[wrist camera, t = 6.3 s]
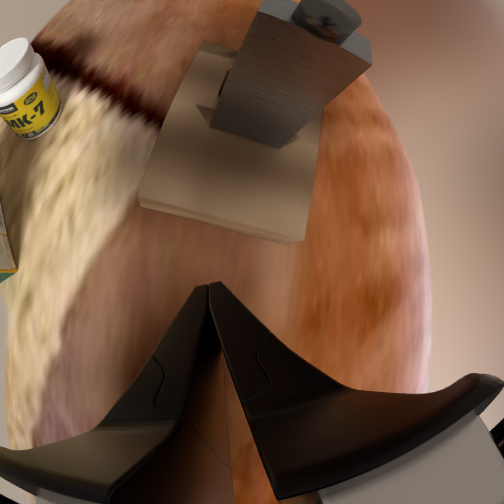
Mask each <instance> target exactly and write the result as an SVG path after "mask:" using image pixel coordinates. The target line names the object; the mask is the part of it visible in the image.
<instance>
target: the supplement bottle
mask: <svg viewBox="0 0 504 504" xmlns="http://www.w3.org/2000/svg"><path fill="white" fill-rule="evenodd" d="M61 107H62V104H61V100H60V97H59V95H58V93H57V91H56V88H55V86H54V84H53V82H52V80H51V78H50V75H49V73H48V71H47V68H46V66H45V64H44V61H43V59H42V57H41V56H40V55H39V54H37V53H34V51H33V48H32V47H31V45H30V43H29V41H28V39H26V38H17V39H14V40H12V41H10V42H8V43H6V44H5V45H3V46H2V47H0V116H1V117H2V118H3V119H4V121H5V122H6V123H7V124H8V125H9V126H10V127H11V128H12V129H13V131H14V132H15V133H16V134H17V135H18V136H19V137H20V138H22V139H25V140H33V139H36V138H38V137H40V136H42V135H43V134H45V133H46V132H48V131H49V130H50V129H51V128H52V127H53V125H54V124H55V123H56V121H57V120H58V118H59V115H60V113H61Z"/></svg>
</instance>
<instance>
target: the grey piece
mask: <svg viewBox="0 0 504 504" xmlns="http://www.w3.org/2000/svg"><path fill="white" fill-rule="evenodd" d="M360 25H361V18H360V16H359V14H358V13H357V12H356V11H355V10H354V9H353V8H352V7H351V6H350V5H349V4H348V3H346V2H345V1H344V0H301V1H300V3H297V2H294V1H292V0H263V1H262V3H261V5H260V7H259V9H258V11H257V13H256V15H255V17H254V19H253V21H252V23H251V25H250V27H249V29H248V31H247V34H246V36H245V38H244V40H243V42H242V45H241V47H240V49H239V51H238V54H237V56H236V58H235V61H234V63H233V65H232V68H231V70H230V73H229V75H228V78H227V80H226V82H225V85H224V87H223V90H222V93H221V95H220V98H219V100H218V103H217V106H216V108H215V111H214V114H213V117H212V120H211V123H210V126H209V127H212V128H215V129H218V130H222V131H225V132H228V133H232V134H235V135H238V136H241V137H244V138H247V139H250V140H253V141H256V142H259V143H262V144H265V145H268V146H270V147H273V148H276V149H279V150H280V149H281V148H282V147H283V146H284V145H285V144H286V143H287V142H288V141H289V140H290V139H291V138H292V137H293V136H294V135H295V134H296V133H297V132H298V131H299V130H300V129H302V128H303V127H304V126H305V125H306V124H307V123H308V122H309V121H310V120H311V119H312V118H313V117H314V116H315V115H316V114H318V113H319V112H320V111H321V110H322V109H323V108H324V107H325V106H326V105H327V104H328V103H330V102H331V101H332V100H333V99H334V98H335V97H336V96H337V95H338V94H340V93H341V92H342V91H343V90H344V89H345V88H346V87H348V86H349V85H350V84H351V83H352V82H353V81H354V80H356V79H357V78H358V77H359V76H360V75H361V74H363V73H364V72H365V71H366V70H367V69H368V68H369V67H371V66H372V57H371V48H370V41H369V40H368V39H367V38H365V37H363V36H362V35H360V34H358V33H357V32H355V30H356V29H357V28H358V27H359V26H360Z"/></svg>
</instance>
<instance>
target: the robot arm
mask: <svg viewBox="0 0 504 504" xmlns="http://www.w3.org/2000/svg"><path fill="white" fill-rule="evenodd" d="M223 353H224V356H225V359H226V362H227V365H228V368H229V371H230V374H231V377H232V380H233V383H234V386H235V388H236V391H237V394H238V397H239V400H240V402H241V405H242V408H243V411H244V413H245V416H246V419H247V421H248V424H249V427H250V430H251V433H252V436H253V438H254V441H255V444H256V447H257V450H258V452H259V455H260V458H261V460H262V463H263V466H264V469H265V471H266V474H267V476H268V479H269V482H270V484H271V487H272V489H273V492H274V495H275V497H276V500H277V501H278V502H279V504H504V418H503V419H502V420H501V421H500V422H499V423H498V424H497V425H496V426H495V427H494V428H493V429H492V430H491V431H489V430H488V428H487V427H486V425H485V424H484V422H483V420H482V419H481V418H480V416H479V415H480V414H481V413H482V412H483V411H484V410H485V409H486V408H487V406H488V405H489V404H490V403H491V402H492V401H493V400H494V399H495V398H496V396H497V395H498V394H499V393H500V391H501V390H502V389H503V387H504V381H503V380H501V379H499V378H498V377H496V376H492V375H488V374H478V373H471V374H468V375H466V376H464V377H462V378H461V379H459V380H458V381H456V382H455V383H453V384H452V385H450V386H449V387H446V388H445V389H442V390H439V391H436V392H432V393H426V394H405V393H387V392H375V391H364V390H356V389H353V388H350V387H347V386H345V385H343V384H341V383H339V382H337V381H336V380H334V379H333V378H331V377H330V376H328V375H327V374H325V373H323V372H322V371H320V370H319V369H318V368H316V367H315V366H313V365H312V364H310V363H309V362H307V361H306V360H304V359H303V358H301V357H300V356H299V355H297V354H296V353H295V352H293V351H292V350H291V349H289V348H288V347H287V346H286V345H285V344H284V343H283V342H281V341H280V340H279V339H278V338H277V337H276V336H275V335H274V334H273V333H271V331H270V330H269V329H268V328H267V327H266V326H265V325H264V324H263V323H262V322H261V321H260V320H259V319H258V318H257V317H256V316H255V315H254V314H253V313H252V312H251V311H250V310H249V309H248V308H247V307H246V306H245V305H244V304H243V303H242V302H241V301H240V300H239V299H238V298H237V297H236V296H235V295H234V294H233V293H232V292H231V291H230V290H229V289H228V288H227V287H226V286H225V285H224V284H223V283H222V282H221V281H218V282H214V283H210V284H209V286H208V285H207V284H205V285H200V286H196V287H195V288H194V290H193V291H192V293H191V294H190V296H189V297H188V299H187V300H186V302H185V303H184V305H183V306H182V308H181V309H180V311H179V312H178V314H177V315H176V317H175V318H174V320H173V321H172V323H171V324H170V326H169V327H168V329H167V331H166V332H165V334H164V335H163V337H162V338H161V340H160V341H159V343H158V344H157V346H156V348H155V349H154V351H153V352H152V354H151V356H150V357H149V358H148V360H147V361H146V363H145V365H144V366H143V368H142V369H141V370H140V372H139V373H138V375H137V376H136V378H135V379H134V380H133V382H132V383H131V384H130V386H129V387H128V388H127V390H126V391H125V392H124V394H123V395H122V396H121V397H120V399H119V400H118V401H117V402H116V404H115V405H114V406H113V407H112V409H111V410H110V411H109V412H108V414H107V415H106V416H105V418H104V419H103V420H102V421H101V422H100V423H99V424H98V425H97V426H96V427H95V428H93V429H92V430H90V431H88V432H86V433H84V434H81V435H78V436H75V437H71V438H68V439H65V440H62V441H58V442H55V443H52V444H48V445H44V446H41V447H37V448H33V449H28V450H11V449H7V448H4V447H1V446H0V477H2V478H4V479H5V480H7V481H9V482H10V483H12V484H14V485H16V486H18V487H19V488H21V489H23V490H25V491H27V492H29V493H31V494H33V495H35V496H36V504H235V501H234V492H233V482H232V472H231V470H230V469H231V462H230V451H229V439H228V427H227V413H226V399H225V383H224V366H223ZM0 504H19V503H17V502H15V501H13V500H11V499H9V498H7V497H5V496H4V495H1V494H0Z"/></svg>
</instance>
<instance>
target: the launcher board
mask: <svg viewBox="0 0 504 504" xmlns="http://www.w3.org/2000/svg"><path fill="white" fill-rule="evenodd" d="M237 54H238V51H237V50H233V49H230V48H227V47H223V46H219V45H216V44H212V43H208V42H204V41H203V43H202V44H201V46H200V48H199V50H198V52H197V53H196V55H195V57H194V59H193V61H192V63H191V65H190V67H189V69H188V70H187V72H186V74H185V76H184V78H183V81H182V83H181V85H180V87H179V89H178V91H177V93H176V95H175V97H174V100H173V102H172V104H171V106H170V109H169V111H168V113H167V115H166V118H165V120H164V123H163V125H162V127H161V130H160V132H159V135H158V137H157V140H156V142H155V145H154V148H153V150H152V153H151V156H150V159H149V161H148V164H147V167H146V170H145V173H144V176H143V179H142V182H141V185H140V188H139V191H138V194H137V197H138V200H139V203H140V205H141V207H144V208H148V209H152V210H156V211H160V212H164V213H168V214H171V215H175V216H179V217H183V218H187V219H191V220H195V221H199V222H202V223H206V224H210V225H214V226H218V227H221V228H225V229H229V230H233V231H237V232H240V233H244V234H248V235H251V236H255V237H259V238H263V239H266V240H270V241H274V242H277V243H281V244H285V245H286V244H291V243H296V242H301V241H304V237H305V231H306V225H307V220H308V214H309V208H310V201H311V195H312V189H313V182H314V175H315V168H316V161H317V154H318V146H319V139H320V131H321V122H322V114H323V109H322V110H321V111H320V112H319V113H318V114H316V115H315V116H314V117H313V118H312V119H311V120H310V121H309V122H308V123H307V124H306V125H305V126H304V127H303V128H302V129H300V130H299V131H298V132H297V133H296V134H295V135H294V136H293V137H292V138H291V139H290V140H289V141H288V142H287V143H286V144H285V145H284V146H283V147H282V148H281V149H280V150H279V149H276V148H273V147H270V146H268V145H265V144H262V143H259V142H256V141H253V140H250V139H247V138H244V137H241V136H238V135H235V134H232V133H228V132H225V131H222V130H218V129H215V128H212V127H209V126H210V123H211V120H212V117H213V114H214V111H215V108H216V106H217V103H218V100H219V97H218V93H219V91H220V90H223V87H224V85H225V82H226V80H227V78H228V75H229V73H230V70H231V68H232V65H233V63H234V61H235V58H236V56H237Z"/></svg>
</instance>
